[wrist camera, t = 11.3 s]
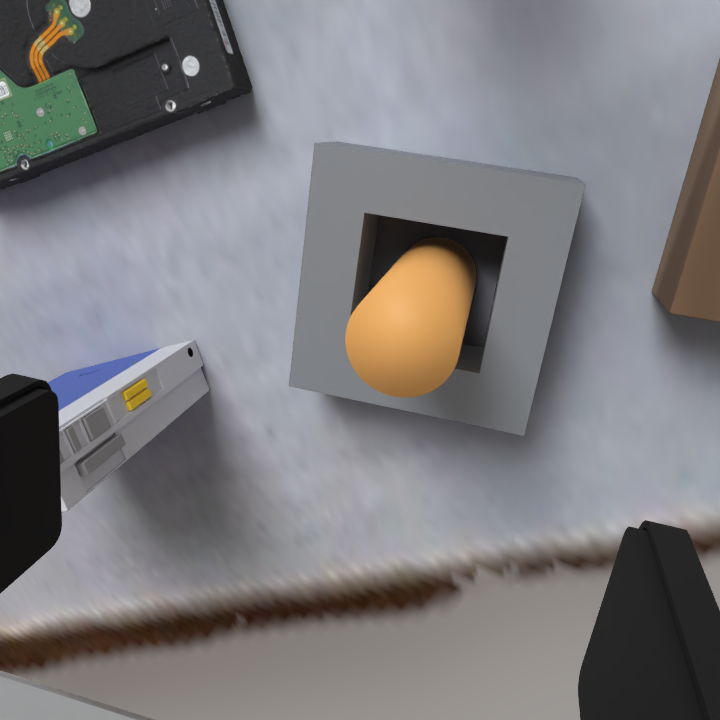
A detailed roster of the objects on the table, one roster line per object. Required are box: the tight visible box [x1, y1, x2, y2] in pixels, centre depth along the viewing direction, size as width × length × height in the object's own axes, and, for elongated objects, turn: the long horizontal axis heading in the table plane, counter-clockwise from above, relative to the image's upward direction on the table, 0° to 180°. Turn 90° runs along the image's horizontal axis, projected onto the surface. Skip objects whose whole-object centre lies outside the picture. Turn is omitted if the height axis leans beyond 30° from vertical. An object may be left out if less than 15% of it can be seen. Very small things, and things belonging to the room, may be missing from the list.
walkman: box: [48, 340, 209, 512], centre depth 29 cm, size 8×3×12 cm, turn 107°
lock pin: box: [345, 237, 476, 398], centre depth 25 cm, size 4×4×10 cm
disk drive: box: [0, 0, 252, 190], centre depth 29 cm, size 10×3×15 cm
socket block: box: [289, 142, 585, 436], centre depth 28 cm, size 10×10×4 cm
